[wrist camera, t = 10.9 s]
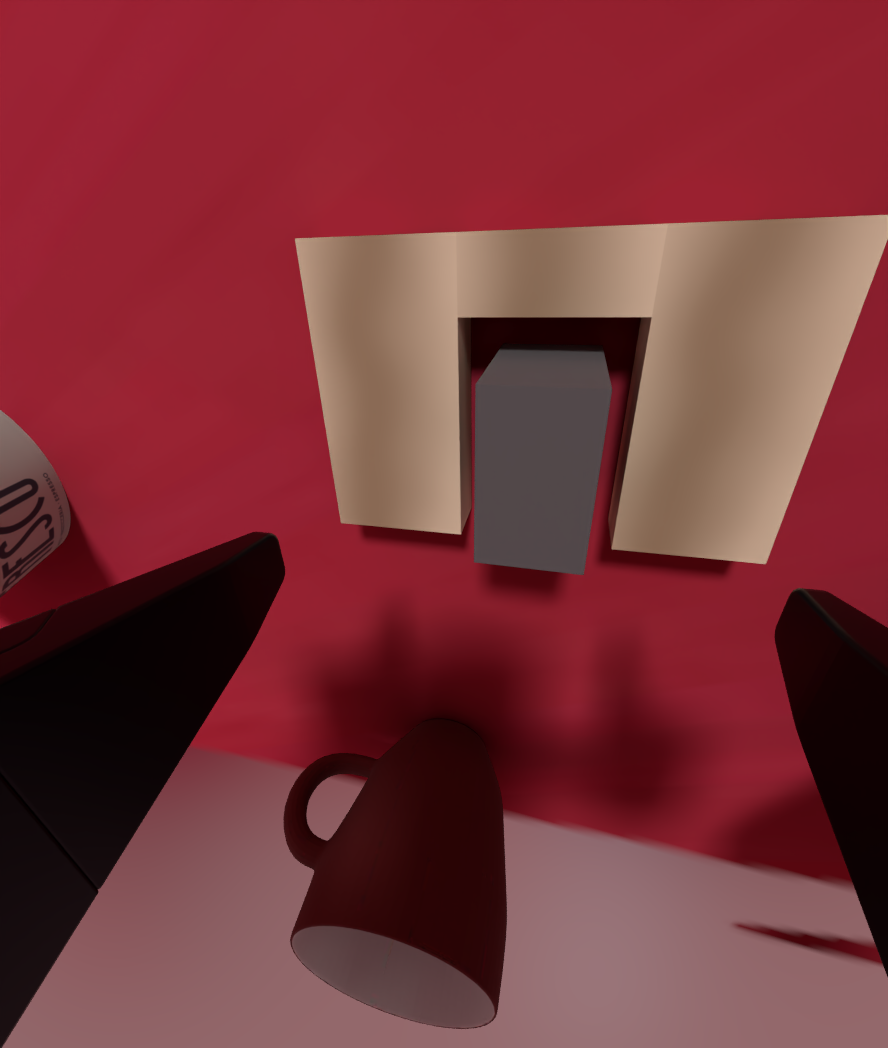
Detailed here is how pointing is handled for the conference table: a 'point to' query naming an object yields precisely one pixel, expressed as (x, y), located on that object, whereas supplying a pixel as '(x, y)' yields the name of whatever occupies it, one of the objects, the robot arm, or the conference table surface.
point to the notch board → (657, 377)
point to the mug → (408, 879)
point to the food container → (27, 505)
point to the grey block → (539, 454)
